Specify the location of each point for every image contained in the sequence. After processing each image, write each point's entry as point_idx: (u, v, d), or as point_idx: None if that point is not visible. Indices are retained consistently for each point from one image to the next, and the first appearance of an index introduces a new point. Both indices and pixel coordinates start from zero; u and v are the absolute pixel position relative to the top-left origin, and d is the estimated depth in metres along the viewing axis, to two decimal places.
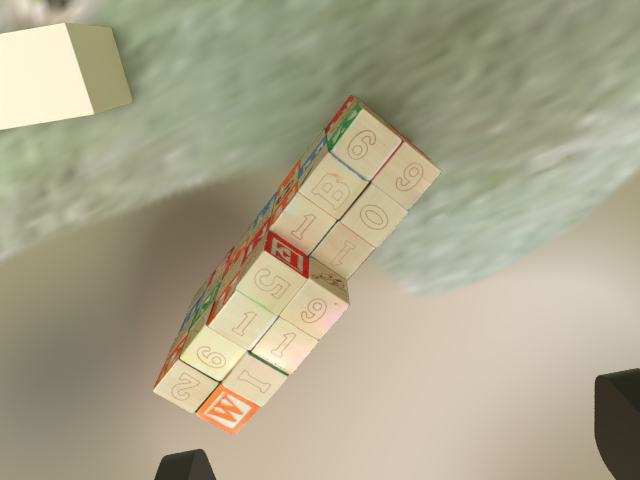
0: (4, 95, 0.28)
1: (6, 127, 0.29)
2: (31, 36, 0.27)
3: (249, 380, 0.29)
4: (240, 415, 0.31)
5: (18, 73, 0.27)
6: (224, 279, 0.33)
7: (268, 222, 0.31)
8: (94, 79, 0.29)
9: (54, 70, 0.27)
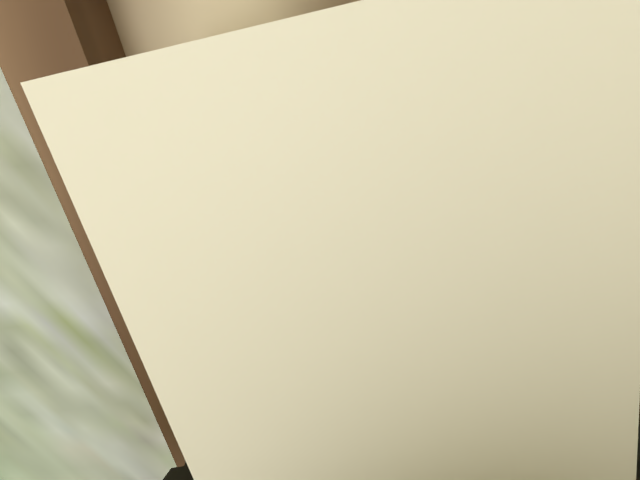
0: None
1: None
2: None
3: None
4: None
5: None
6: None
7: None
8: None
9: None
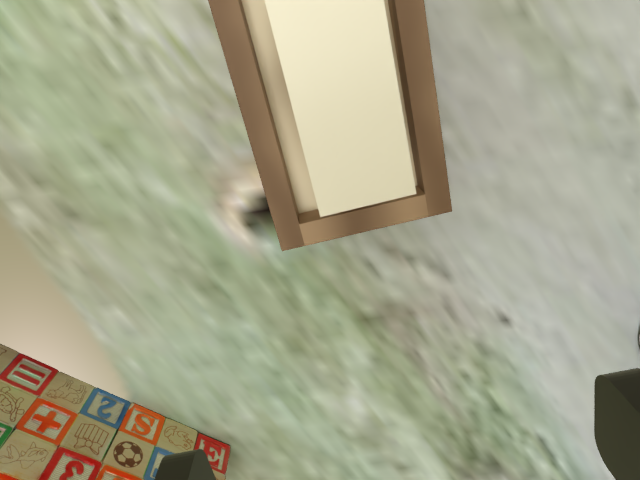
0: (333, 115, 0.22)
1: (294, 112, 0.22)
2: (401, 156, 0.23)
3: None
4: None
5: (360, 136, 0.23)
6: (16, 441, 0.31)
7: (93, 476, 0.32)
8: None
9: (365, 177, 0.24)
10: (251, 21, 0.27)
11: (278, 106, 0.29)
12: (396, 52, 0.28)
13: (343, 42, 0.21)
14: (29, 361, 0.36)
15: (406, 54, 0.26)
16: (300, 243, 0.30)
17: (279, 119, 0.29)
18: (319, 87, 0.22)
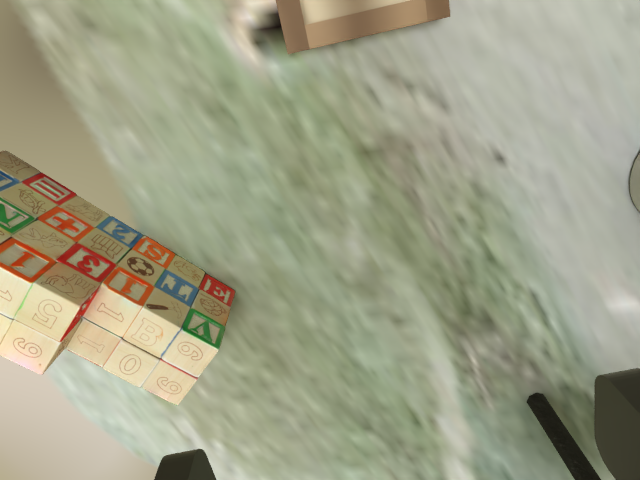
0: None
1: None
2: None
3: None
4: None
5: None
6: (38, 227, 0.32)
7: (108, 270, 0.33)
8: None
9: None
10: None
11: None
12: None
13: None
14: (50, 180, 0.38)
15: None
16: (305, 46, 0.32)
17: None
18: None
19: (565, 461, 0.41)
